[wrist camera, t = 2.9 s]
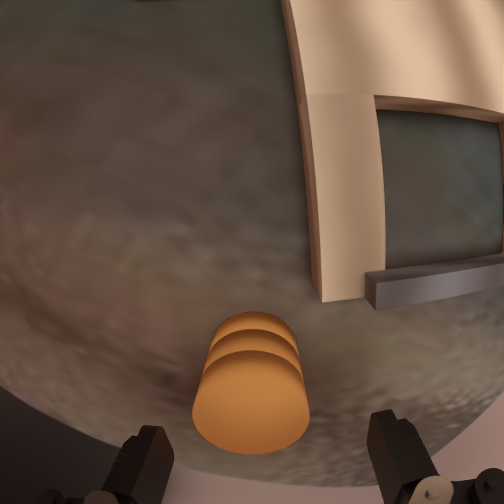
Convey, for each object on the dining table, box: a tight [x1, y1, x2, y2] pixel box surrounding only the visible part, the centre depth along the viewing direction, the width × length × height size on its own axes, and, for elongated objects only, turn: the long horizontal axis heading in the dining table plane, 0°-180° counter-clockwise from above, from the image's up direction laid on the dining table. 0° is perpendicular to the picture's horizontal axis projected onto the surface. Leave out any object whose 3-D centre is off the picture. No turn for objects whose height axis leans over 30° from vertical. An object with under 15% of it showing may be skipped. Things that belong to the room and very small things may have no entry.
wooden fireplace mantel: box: [280, 0, 504, 310], centre depth 11 cm, size 17×20×6 cm
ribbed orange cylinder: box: [192, 312, 310, 455], centre depth 14 cm, size 5×5×6 cm
